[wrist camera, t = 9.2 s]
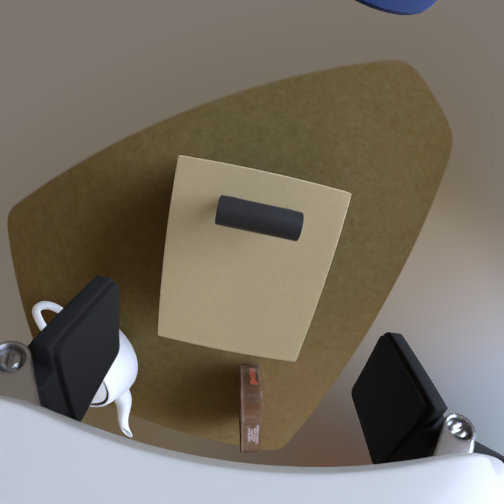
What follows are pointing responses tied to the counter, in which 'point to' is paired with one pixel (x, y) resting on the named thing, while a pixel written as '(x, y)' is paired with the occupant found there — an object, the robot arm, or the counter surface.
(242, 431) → the tin
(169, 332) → the lid
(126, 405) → the teapot
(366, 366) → the robot arm
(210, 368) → the counter surface
